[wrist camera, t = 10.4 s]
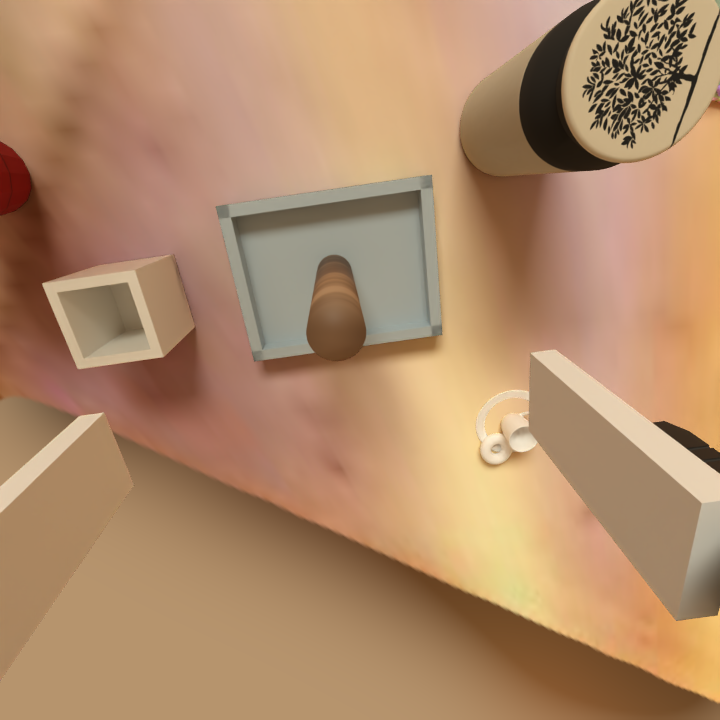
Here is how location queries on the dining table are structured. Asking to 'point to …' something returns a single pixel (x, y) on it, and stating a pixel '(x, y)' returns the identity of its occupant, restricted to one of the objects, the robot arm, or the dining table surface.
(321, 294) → the dowel
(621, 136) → the travel mug
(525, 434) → the cream curved piece
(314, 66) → the dining table surface
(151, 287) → the square open box
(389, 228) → the tray
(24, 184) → the plastic cup
